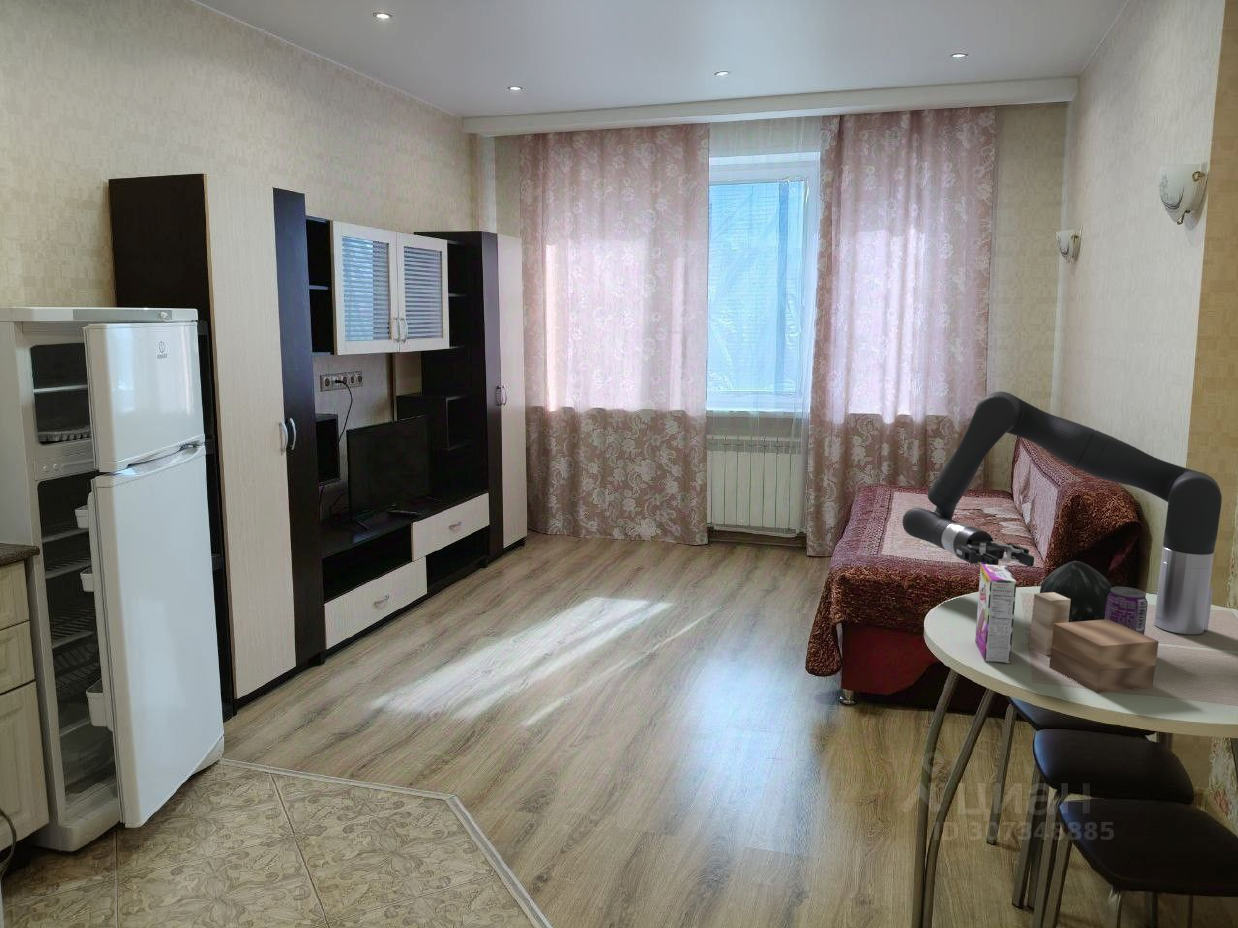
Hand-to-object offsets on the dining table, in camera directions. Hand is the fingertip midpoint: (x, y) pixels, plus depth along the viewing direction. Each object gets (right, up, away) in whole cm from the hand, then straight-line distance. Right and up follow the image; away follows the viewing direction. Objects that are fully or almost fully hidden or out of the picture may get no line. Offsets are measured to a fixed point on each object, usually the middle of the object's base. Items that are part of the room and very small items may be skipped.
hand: (1014, 562), depth 192 cm
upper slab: (+7, -15, -22) cm, 27 cm away
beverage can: (+18, -17, -7) cm, 26 cm away
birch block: (+3, -16, -8) cm, 19 cm away
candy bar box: (-9, -17, -10) cm, 22 cm away
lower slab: (+6, -19, -21) cm, 29 cm away
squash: (+16, -14, +8) cm, 23 cm away
